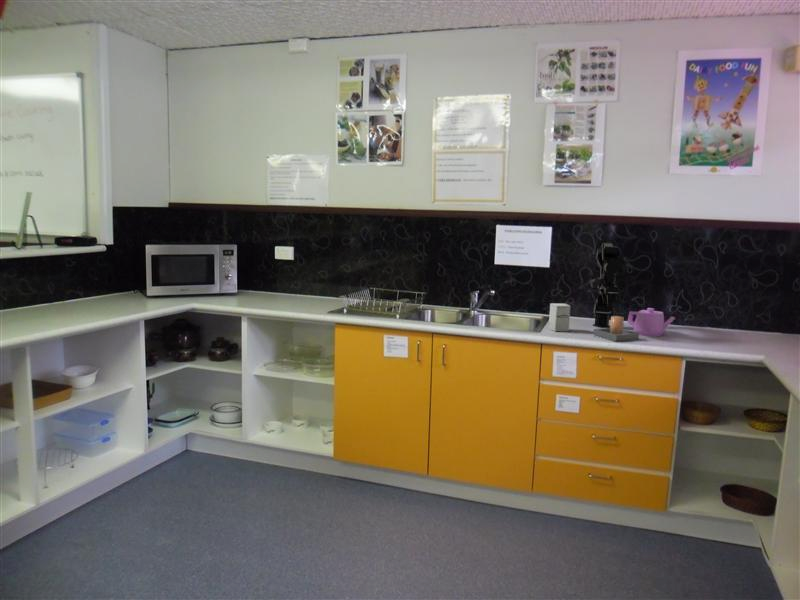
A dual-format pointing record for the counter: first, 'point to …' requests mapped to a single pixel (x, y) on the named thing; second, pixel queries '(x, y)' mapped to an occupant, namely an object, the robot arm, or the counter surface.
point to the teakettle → (649, 322)
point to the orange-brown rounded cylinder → (616, 325)
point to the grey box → (559, 317)
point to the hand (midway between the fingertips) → (606, 305)
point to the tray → (624, 336)
